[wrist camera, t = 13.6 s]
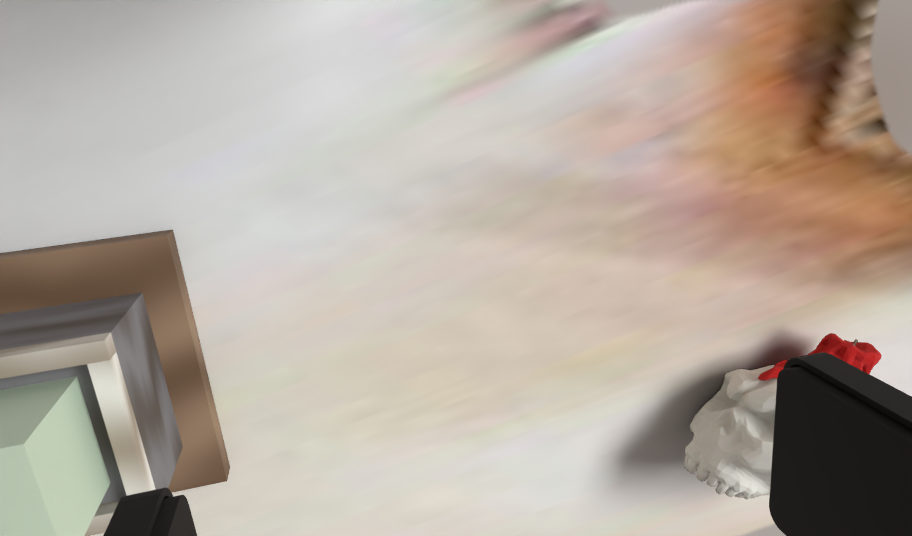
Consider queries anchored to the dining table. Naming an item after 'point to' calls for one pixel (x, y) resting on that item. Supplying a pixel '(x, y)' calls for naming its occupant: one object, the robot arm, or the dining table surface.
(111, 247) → the pillar base
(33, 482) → the sage block
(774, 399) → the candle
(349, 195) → the dining table surface
